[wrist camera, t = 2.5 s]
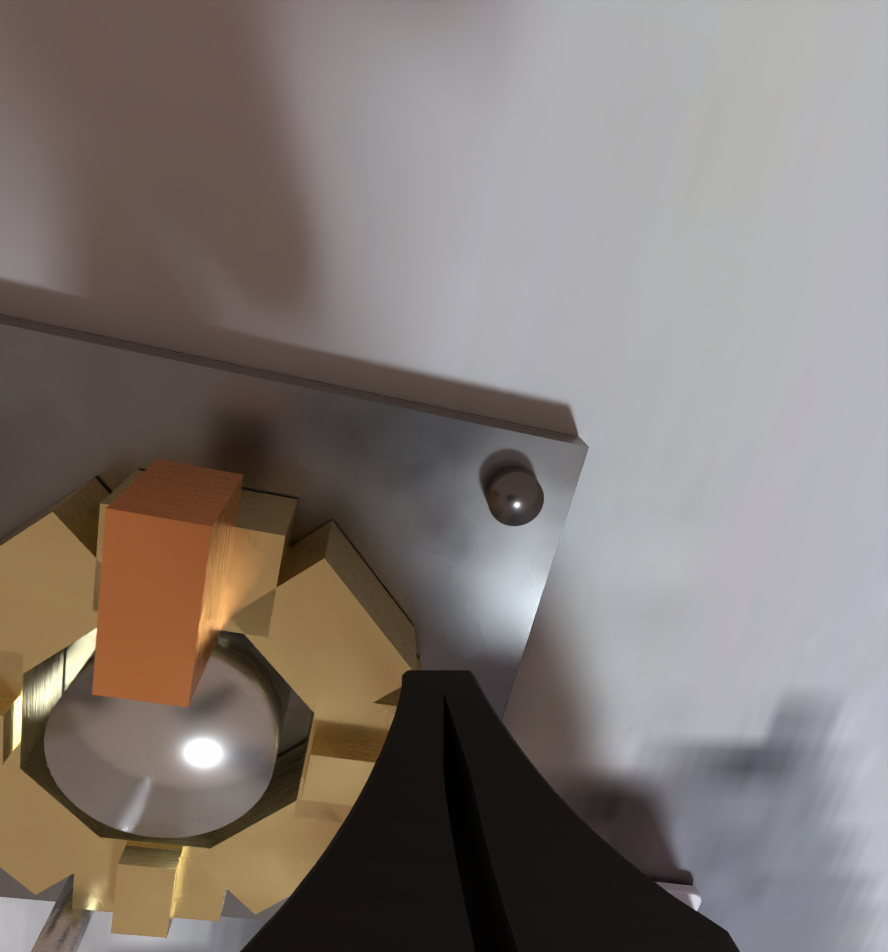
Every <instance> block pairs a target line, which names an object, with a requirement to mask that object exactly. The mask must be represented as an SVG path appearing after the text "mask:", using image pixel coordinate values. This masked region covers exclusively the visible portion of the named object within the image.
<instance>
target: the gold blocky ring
mask: <svg viewBox="0 0 888 952" xmlns="http://www.w3.org/2000/svg"><path fill="white" fill-rule="evenodd" d="M243 476H244V475H242V474H236V473H231V472H226V471H220V470H215V469H210V468H204V467H199V466H194V465H188V464H183V463H178V462H172V461H167V460H162V459H156V460H155V461H154V462H153V463H152V464H151V465H150V466H149V467H148V468H147V469H146V470H145V471H139V470H136V471H135V472H133V473H132V474H131V475H130V476H129V477H128V478H127V479H126V480H125V481H124V482H123V483H122V484H120V485H119V486H118V487H117V488H116V489H115V490H114V491H113V492H112V493H111V494H109V493H108V492H107V490H106V489H105V488H104V487H103V486H102V485H101V484H100V483H99V481H98V480H97V479H96V478H95V477H94V478H93V479H91V480H90V481H88V482H87V483H85V484H84V485H82V486H81V487H79V488H78V489H76V490H75V491H73V492H72V493H70V494H68V495H67V496H65V497H64V498H62V499H61V500H59V501H58V502H56V503H55V504H53V505H52V506H50V507H49V508H47V509H46V510H44V511H43V512H41V513H40V514H38V515H37V516H35V517H34V518H32V519H30V520H29V521H27V522H26V523H24V524H23V525H21V526H20V527H18V528H17V529H15V530H14V531H12V532H11V533H9V534H8V535H6V536H5V537H3V538H2V539H0V867H1V868H2V869H3V870H4V871H6V872H7V873H8V874H9V875H11V876H12V877H13V878H14V879H16V880H17V881H18V882H20V883H21V884H22V885H23V886H25V887H26V888H27V889H28V890H30V891H31V892H32V893H33V894H35V895H36V894H38V893H40V892H42V891H43V890H45V889H47V888H49V887H50V886H52V885H54V884H56V883H57V882H59V881H61V880H63V879H64V878H66V877H68V876H70V875H71V874H73V873H74V884H73V898H72V909H82V910H94V911H105V912H113V917H112V928H111V933H116V934H128V935H140V936H152V937H165V938H167V935H168V932H169V928H170V925H171V922H172V919H173V917H174V918H185V919H197V920H208V921H220V917H221V913H222V909H223V905H224V901H225V897H226V893H227V889H228V890H229V891H230V892H231V893H232V894H233V895H234V896H235V897H236V898H237V899H239V900H240V901H241V902H242V903H243V904H244V905H245V906H246V907H247V908H248V909H250V910H251V911H252V912H253V913H254V914H255V915H256V914H258V913H259V912H261V911H263V910H265V909H267V908H269V907H271V906H272V905H274V904H276V903H278V902H280V901H282V900H284V899H285V898H287V897H289V896H291V894H292V893H293V892H294V890H295V889H296V888H297V887H298V885H299V884H300V883H301V881H302V880H303V879H304V878H305V876H306V875H307V874H308V873H309V871H310V870H311V869H312V867H313V866H314V865H315V864H316V862H317V861H318V859H319V858H320V857H321V855H322V854H323V852H324V851H325V850H326V848H327V847H328V845H329V844H330V842H331V841H332V839H333V838H334V836H335V834H336V833H337V831H338V830H339V828H340V827H341V825H342V824H343V822H344V821H345V819H346V817H347V816H348V814H349V812H350V811H351V809H352V807H353V805H354V804H355V802H356V800H357V798H358V797H359V795H360V793H361V791H362V789H363V787H364V785H365V783H366V782H367V780H368V778H369V776H370V773H371V771H372V769H373V767H374V765H375V763H376V760H377V758H378V756H379V754H380V752H381V750H382V747H383V745H384V742H385V740H386V737H387V734H388V732H389V729H390V726H391V724H392V721H393V718H394V715H395V712H396V708H397V705H398V701H399V697H400V692H401V686H402V675H403V674H404V673H405V672H406V671H408V670H422V666H421V659H418V658H417V657H416V641H415V628H414V627H413V626H412V624H411V623H410V622H409V620H408V619H407V618H406V616H405V615H404V614H403V612H402V611H401V610H400V609H399V607H398V606H397V605H396V603H395V602H394V601H393V599H392V598H391V597H390V595H389V594H388V593H387V591H386V590H385V589H384V587H383V586H382V585H381V584H380V582H379V581H378V580H377V578H376V577H375V576H374V574H373V573H372V572H371V570H370V569H369V568H368V566H367V565H366V564H365V563H364V561H363V560H362V559H361V557H360V556H359V555H358V553H357V552H356V551H355V549H354V548H353V547H352V545H351V544H350V543H349V541H348V540H347V539H346V538H345V536H344V535H343V534H342V532H341V531H340V530H339V528H338V527H337V526H336V524H335V523H334V522H333V520H332V521H330V522H328V523H327V524H325V525H324V526H322V527H320V528H319V529H317V530H315V531H314V532H312V533H311V534H309V535H307V536H306V537H304V538H302V539H301V540H299V541H297V542H296V543H294V544H293V545H291V546H290V542H291V536H292V530H293V525H294V519H295V513H296V507H297V502H298V500H297V499H292V498H286V497H281V496H275V495H270V494H264V493H259V492H254V491H248V490H243V489H242V483H243ZM96 628H97V634H96V648H95V661H94V675H93V689H92V695H99V696H106V697H114V698H121V699H129V700H136V701H144V702H151V703H159V704H166V705H174V706H181V707H189V705H190V703H191V700H192V698H193V696H194V693H195V691H196V688H197V686H198V684H199V681H200V679H201V677H202V674H203V672H204V670H205V667H206V665H207V663H208V660H209V658H210V656H211V653H212V651H213V649H214V646H215V644H216V642H217V639H218V637H219V635H220V632H221V630H223V631H229V632H236V633H243V634H245V635H246V637H247V638H248V639H249V640H250V641H251V642H252V643H253V645H254V646H255V647H256V648H257V649H258V650H259V651H260V652H261V654H262V655H263V656H264V657H265V658H266V659H267V660H268V662H269V663H270V664H271V665H272V666H273V667H274V668H275V669H276V671H277V672H278V673H279V674H280V675H281V676H282V677H283V678H284V680H285V681H286V682H287V683H288V684H289V685H290V686H291V688H292V689H293V690H294V691H295V692H296V693H297V694H298V695H299V697H300V698H301V699H302V700H303V701H304V702H305V703H306V704H307V706H308V707H309V708H310V709H311V710H312V711H313V712H312V716H311V721H310V726H309V731H308V736H307V741H306V742H305V743H303V744H301V745H299V746H298V747H296V748H294V749H292V750H291V751H289V752H287V753H285V754H284V755H282V756H280V757H278V758H277V759H276V762H275V767H274V770H273V774H272V778H271V780H270V782H269V785H268V787H267V789H266V791H265V792H264V794H263V795H262V797H261V798H260V799H259V800H258V802H257V803H256V804H255V805H254V806H253V807H252V808H251V809H250V810H249V811H247V812H246V813H245V814H244V815H243V816H241V817H240V818H238V819H236V820H235V821H233V822H232V823H230V824H228V825H225V826H223V827H221V828H219V829H216V830H213V831H210V832H208V833H203V834H199V835H195V836H188V837H181V838H156V837H147V836H140V835H135V834H131V833H128V832H124V831H121V830H118V829H115V828H112V827H110V826H108V825H106V824H104V823H101V822H99V821H97V820H96V819H94V818H92V817H91V816H89V815H88V814H86V813H85V812H83V811H82V810H81V809H79V808H78V807H77V806H76V805H74V804H73V803H72V802H71V801H70V800H69V799H68V798H67V797H66V796H65V794H64V793H63V792H62V791H61V789H60V788H59V787H58V785H57V784H56V782H55V780H54V778H53V777H52V775H51V772H50V770H49V767H48V765H47V761H46V757H45V752H44V735H45V728H46V725H47V722H48V719H49V716H50V714H51V712H52V710H53V708H54V706H55V705H56V703H57V702H58V701H59V699H60V698H61V696H62V678H63V659H64V648H65V647H67V646H69V645H70V644H72V643H73V642H75V641H77V640H78V639H80V638H81V637H83V636H85V635H86V634H88V633H89V632H91V631H93V630H94V629H96Z"/></svg>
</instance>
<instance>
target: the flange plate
mask: <svg viewBox="0 0 888 952" xmlns="http://www.w3.org/2000/svg"><path fill="white" fill-rule="evenodd" d="M588 448H589V447H588V446H587V445H586V444H585V442H584V441H583V440H582V439H581V438H580V437H577V436H572V435H567V434H562V433H558V432H553V431H548V430H543V429H539V428H534V427H529V426H524V425H520V424H515V423H510V422H506V421H501V420H496V419H491V418H487V417H482V416H477V415H472V414H468V413H463V412H458V411H454V410H449V409H444V408H439V407H435V406H430V405H425V404H420V403H416V402H411V401H406V400H401V399H397V398H392V397H387V396H383V395H378V394H373V393H368V392H364V391H359V390H354V389H349V388H345V387H340V386H335V385H331V384H326V383H321V382H316V381H312V380H307V379H302V378H297V377H293V376H288V375H283V374H278V373H274V372H269V371H264V370H260V369H255V368H250V367H245V366H241V365H236V364H231V363H226V362H222V361H217V360H212V359H208V358H203V357H198V356H193V355H189V354H184V353H179V352H174V351H170V350H165V349H160V348H155V347H151V346H146V345H141V344H137V343H132V342H127V341H122V340H118V339H113V338H108V337H103V336H99V335H94V334H89V333H85V332H80V331H75V330H70V329H66V328H61V327H56V326H51V325H47V324H42V323H37V322H33V321H28V320H23V319H18V318H14V317H9V316H4V315H0V539H2V538H3V537H5V536H6V535H8V534H9V533H11V532H12V531H14V530H15V529H17V528H18V527H20V526H21V525H23V524H24V523H26V522H27V521H29V520H30V519H32V518H34V517H35V516H37V515H38V514H40V513H41V512H43V511H44V510H46V509H47V508H49V507H50V506H52V505H53V504H55V503H56V502H58V501H59V500H61V499H62V498H64V497H65V496H67V495H68V494H70V493H72V492H73V491H75V490H76V489H78V488H79V487H81V486H82V485H84V484H85V483H87V482H88V481H90V480H91V479H93V478H94V477H95V478H96V479H97V480H98V481H99V483H100V484H101V485H102V486H103V487H104V488H105V489H106V490H107V492H108V493H109V494H111V493H112V492H113V491H114V490H115V489H116V488H117V487H118V486H119V485H120V484H122V483H123V482H124V481H125V480H126V479H127V478H128V477H129V476H130V475H131V474H132V473H133V472H135V471H136V470H139V471H145V470H146V469H147V468H148V467H149V466H150V465H151V464H152V463H153V462H154V461H155V460H156V459H162V460H167V461H172V462H178V463H183V464H188V465H194V466H199V467H204V468H210V469H215V470H220V471H226V472H231V473H236V474H242V475H244V476H243V483H242V489H243V490H248V491H254V492H259V493H264V494H270V495H275V496H281V497H286V498H292V499H297V500H298V502H297V507H296V513H295V519H294V525H293V530H292V536H291V542H290V546H291V545H293V544H294V543H296V542H297V541H299V540H301V539H302V538H304V537H306V536H307V535H309V534H311V533H312V532H314V531H315V530H317V529H319V528H320V527H322V526H324V525H325V524H327V523H328V522H330V521H332V520H333V522H334V523H335V524H336V526H337V527H338V528H339V530H340V531H341V532H342V534H343V535H344V536H345V538H346V539H347V540H348V541H349V543H350V544H351V545H352V547H353V548H354V549H355V551H356V552H357V553H358V555H359V556H360V557H361V559H362V560H363V561H364V563H365V564H366V565H367V566H368V568H369V569H370V570H371V572H372V573H373V574H374V576H375V577H376V578H377V580H378V581H379V582H380V584H381V585H382V586H383V587H384V589H385V590H386V591H387V593H388V594H389V595H390V597H391V598H392V599H393V601H394V602H395V603H396V605H397V606H398V607H399V609H400V610H401V611H402V612H403V614H404V615H405V616H406V618H407V619H408V620H409V622H410V623H411V624H412V626H413V627H414V628H415V641H416V657H417V658H418V659H421V666H422V670H470V671H471V672H472V673H473V674H474V675H475V677H476V679H477V681H478V683H479V685H480V687H481V688H482V690H483V692H484V694H485V695H486V697H487V699H488V701H489V702H490V704H491V705H492V707H493V709H494V710H495V712H496V713H497V715H498V717H499V718H500V720H501V721H502V718H503V714H504V711H505V708H506V705H507V702H508V699H509V696H510V692H511V689H512V686H513V683H514V680H515V677H516V674H517V671H518V667H519V664H520V661H521V658H522V655H523V652H524V649H525V645H526V642H527V639H528V636H529V633H530V630H531V627H532V624H533V620H534V617H535V614H536V611H537V608H538V605H539V602H540V599H541V595H542V592H543V589H544V586H545V583H546V580H547V577H548V573H549V570H550V567H551V564H552V561H553V558H554V555H555V552H556V548H557V545H558V542H559V539H560V536H561V533H562V530H563V527H564V523H565V520H566V517H567V514H568V511H569V508H570V505H571V501H572V498H573V495H574V492H575V489H576V486H577V483H578V480H579V476H580V473H581V470H582V467H583V464H584V461H585V458H586V454H587V451H588ZM96 634H97V628H96V629H94V630H93V631H91V632H89V633H88V634H86V635H85V636H83V637H81V638H80V639H78V640H77V641H75V642H73V643H72V644H70V645H69V646H67V647H65V648H64V659H63V678H62V696H61V698H60V699H59V701H58V702H57V703H56V705H55V706H54V708H53V710H52V712H51V714H50V716H49V719H48V722H47V725H46V728H45V735H44V752H45V757H46V761H47V765H48V767H49V770H50V772H51V775H52V777H53V778H54V780H55V782H56V784H57V785H58V787H59V788H60V789H61V791H62V792H63V793H64V794H65V796H66V797H67V798H68V799H69V800H70V801H71V802H72V803H73V804H74V805H76V806H77V807H78V808H79V809H81V810H82V811H83V812H85V813H86V814H88V815H89V816H91V817H92V818H94V819H96V820H97V821H99V822H101V823H104V824H106V825H108V826H110V827H112V828H115V829H118V830H121V831H124V832H128V833H131V834H135V835H140V836H147V837H156V838H181V837H188V836H195V835H199V834H203V833H208V832H210V831H213V830H216V829H219V828H221V827H223V826H225V825H228V824H230V823H232V822H233V821H235V820H236V819H238V818H240V817H241V816H243V815H244V814H245V813H246V812H247V811H249V810H250V809H251V808H252V807H253V806H254V805H255V804H256V803H257V802H258V800H259V799H260V798H261V797H262V795H263V794H264V792H265V791H266V789H267V787H268V785H269V782H270V780H271V778H272V774H273V770H274V767H275V762H276V759H277V758H278V757H280V756H282V755H284V754H285V753H287V752H289V751H291V750H292V749H294V748H296V747H298V746H299V745H301V744H303V743H305V742H306V741H307V736H308V731H309V726H310V721H311V716H312V712H313V711H312V710H311V709H310V708H309V707H308V706H307V704H306V703H305V702H304V701H303V700H302V699H301V698H300V697H299V695H298V694H297V693H296V692H295V691H294V690H293V689H292V688H291V686H290V685H289V684H288V683H287V682H286V681H285V680H284V678H283V677H282V676H281V675H280V674H279V673H278V672H277V671H276V669H275V668H274V667H273V666H272V665H271V664H270V663H269V662H268V660H267V659H266V658H265V657H264V656H263V655H262V654H261V652H260V651H259V650H258V649H257V648H256V647H255V646H254V645H253V643H252V642H251V641H250V640H249V639H248V638H247V637H246V635H245V634H243V633H236V632H229V631H223V630H221V632H220V635H219V637H218V639H217V642H216V644H215V646H214V649H213V651H212V653H211V656H210V658H209V660H208V663H207V665H206V667H205V670H204V672H203V674H202V677H201V679H200V681H199V684H198V686H197V688H196V691H195V693H194V696H193V698H192V700H191V703H190V705H189V707H181V706H174V705H166V704H159V703H151V702H144V701H136V700H129V699H121V698H114V697H106V696H99V695H92V689H93V675H94V661H95V648H96ZM73 884H74V873H73V874H71V875H70V876H68V877H66V878H64V879H63V880H61V881H59V882H57V883H56V884H54V885H52V886H50V887H49V888H47V889H45V890H43V891H42V892H40V893H38V894H36V895H35V894H33V893H32V892H31V891H30V890H28V889H27V888H26V887H25V886H23V885H22V884H21V883H20V882H18V881H17V880H16V879H14V878H13V877H12V876H11V875H9V874H8V873H7V872H6V871H4V870H3V869H2V868H1V867H0V897H10V898H21V899H32V900H44V901H55V902H56V903H55V905H54V907H53V909H52V911H51V913H50V915H49V917H48V919H47V921H46V923H45V925H44V927H43V929H42V931H41V933H40V935H39V937H38V939H37V941H36V943H35V945H34V947H33V949H32V951H31V952H76V951H77V949H78V947H79V944H80V942H81V940H82V938H83V935H84V933H85V931H86V928H87V926H88V924H89V922H90V919H91V917H92V915H93V913H94V910H82V909H72V898H73ZM289 897H290V896H289ZM289 897H287V898H285V899H284V900H282V901H280V902H278V903H276V904H274V905H272V906H271V907H269V908H267V909H265V910H263V911H261V912H259V913H258V914H256V915H255V914H254V913H253V912H252V911H251V910H250V909H248V908H247V907H246V906H245V905H244V904H243V903H242V902H241V901H240V900H239V899H237V898H236V897H235V896H234V895H233V894H232V893H231V892H230V891H229V890H228V889H227V893H226V897H225V901H224V905H223V909H222V913H221V916H224V917H236V918H247V919H258V920H270V919H271V918H272V916H273V915H274V914H275V913H276V912H277V911H278V910H279V909H280V908H281V906H282V905H283V904H284V903H285V902H286V900H287V899H288V898H289Z"/></svg>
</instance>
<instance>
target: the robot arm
mask: <svg viewBox="0 0 888 952" xmlns="http://www.w3.org/2000/svg"><path fill="white" fill-rule="evenodd" d="M701 900H702V898H701V896H700V894H699V891H698V889H697V888H696V887H694V886H690V885H682V884H672V883H663V882H654V881H653V880H651V879H650V878H649V877H647V876H646V875H645V874H644V873H642V872H641V871H640V870H638V869H637V868H636V867H634V866H633V865H632V864H631V863H630V862H628V861H627V860H626V859H625V858H624V857H623V856H621V855H620V854H619V853H618V852H617V851H616V850H615V849H613V848H612V847H611V846H610V845H609V844H608V843H606V842H605V841H604V840H603V839H602V838H601V837H600V836H598V835H597V834H596V833H595V832H594V831H593V830H592V829H591V828H590V827H589V826H588V825H587V824H586V823H585V822H584V821H583V820H582V819H581V818H580V817H579V816H578V815H577V814H576V813H575V812H574V811H573V810H572V809H571V808H570V807H569V806H568V805H567V804H566V803H565V802H564V801H563V800H562V798H561V797H560V796H559V795H558V794H557V793H556V792H555V791H554V789H553V788H552V787H551V786H550V785H549V784H548V782H547V781H546V780H545V779H544V778H543V777H542V775H541V774H540V773H539V772H538V770H537V769H536V768H535V767H534V765H533V764H532V763H531V762H530V760H529V759H528V758H527V756H526V755H525V754H524V752H523V751H522V750H521V748H520V747H519V746H518V744H517V743H516V741H515V740H514V738H513V737H512V736H511V734H510V733H509V731H508V730H507V729H506V727H505V726H504V724H503V723H502V721H501V720H500V718H499V717H498V715H497V713H496V712H495V710H494V709H493V707H492V705H491V704H490V702H489V701H488V699H487V697H486V695H485V694H484V692H483V690H482V688H481V687H480V685H479V683H478V681H477V679H476V677H475V675H474V674H473V673H472V672H471V671H470V670H408V671H406V672H405V673H404V674H403V675H402V686H401V692H400V697H399V701H398V705H397V708H396V712H395V715H394V718H393V721H392V724H391V726H390V729H389V732H388V734H387V737H386V740H385V742H384V745H383V747H382V750H381V752H380V754H379V756H378V758H377V760H376V763H375V765H374V767H373V769H372V771H371V773H370V776H369V778H368V780H367V782H366V783H365V785H364V787H363V789H362V791H361V793H360V795H359V797H358V798H357V800H356V802H355V804H354V805H353V807H352V809H351V811H350V812H349V814H348V816H347V817H346V819H345V821H344V822H343V824H342V825H341V827H340V828H339V830H338V831H337V833H336V834H335V836H334V838H333V839H332V841H331V842H330V844H329V845H328V847H327V848H326V850H325V851H324V852H323V854H322V855H321V857H320V858H319V859H318V861H317V862H316V864H315V865H314V866H313V867H312V869H311V870H310V871H309V873H308V874H307V875H306V876H305V878H304V879H303V880H302V881H301V883H300V884H299V885H298V887H297V888H296V889H295V890H294V892H293V893H292V894H291V896H290V897H289V898H288V899H287V900H286V902H285V903H284V904H283V905H282V906H281V908H280V909H279V910H278V911H277V912H276V913H275V914H274V915H273V916H272V918H271V919H270V920H269V921H268V922H267V923H266V924H265V925H264V926H263V927H262V928H261V929H260V931H259V932H258V933H257V934H256V935H255V936H254V937H253V938H252V939H251V940H250V941H249V943H248V944H247V945H246V946H245V947H244V948H243V949H242V950H241V951H240V952H740V951H739V949H738V948H737V946H736V945H735V943H734V941H733V940H732V938H731V936H730V935H729V933H728V932H727V931H726V930H725V929H723V928H722V927H720V926H719V925H717V924H716V923H714V922H712V921H711V920H709V919H708V918H706V917H705V916H703V915H702V914H700V913H699V912H697V910H698V908H699V906H700V904H701Z"/></svg>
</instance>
